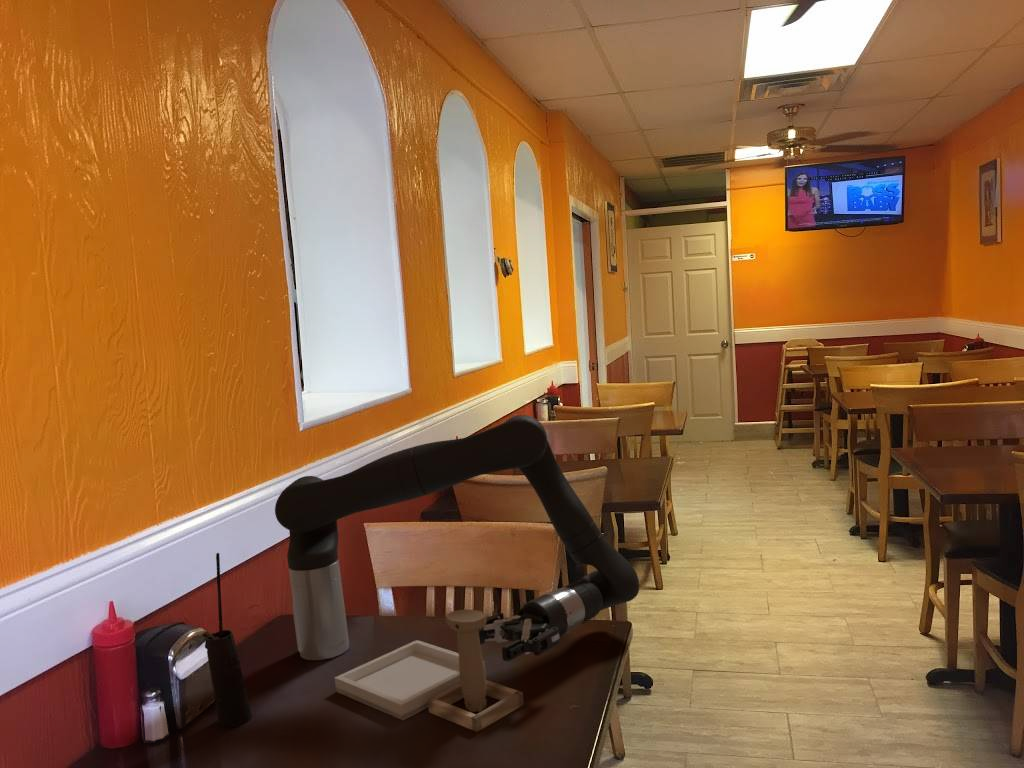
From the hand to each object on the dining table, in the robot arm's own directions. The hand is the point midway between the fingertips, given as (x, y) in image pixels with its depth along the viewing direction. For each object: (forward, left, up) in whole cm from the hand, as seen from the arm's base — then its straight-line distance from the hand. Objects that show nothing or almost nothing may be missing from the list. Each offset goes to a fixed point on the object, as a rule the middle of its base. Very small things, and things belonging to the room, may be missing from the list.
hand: (484, 649), depth 136 cm
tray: (-16, -3, -8) cm, 18 cm away
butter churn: (-32, -28, -9) cm, 43 cm away
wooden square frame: (0, -3, -8) cm, 9 cm away
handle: (0, -3, -9) cm, 9 cm away
